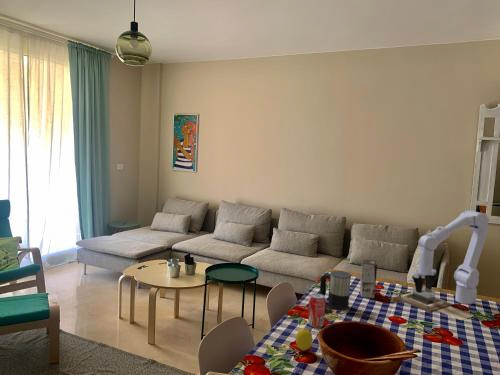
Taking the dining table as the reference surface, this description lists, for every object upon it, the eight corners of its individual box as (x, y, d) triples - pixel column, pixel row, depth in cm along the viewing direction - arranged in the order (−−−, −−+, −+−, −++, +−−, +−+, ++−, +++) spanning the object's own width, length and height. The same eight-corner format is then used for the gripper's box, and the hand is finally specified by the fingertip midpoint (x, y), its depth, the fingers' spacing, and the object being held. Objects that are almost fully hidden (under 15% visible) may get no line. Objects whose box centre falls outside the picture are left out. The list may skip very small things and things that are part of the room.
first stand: (449, 309, 179) (450, 306, 179) (474, 318, 170) (475, 315, 170) (436, 314, 173) (436, 310, 173) (461, 323, 164) (461, 320, 164)
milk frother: (350, 304, 179) (352, 272, 178) (346, 317, 164) (349, 282, 163) (318, 299, 184) (320, 267, 183) (312, 311, 169) (314, 277, 168)
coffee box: (375, 298, 188) (377, 265, 187) (360, 296, 190) (363, 263, 188) (373, 292, 197) (375, 260, 196) (359, 290, 199) (362, 259, 197)
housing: (418, 296, 188) (419, 285, 187) (434, 302, 181) (435, 291, 181) (412, 298, 185) (413, 287, 184) (428, 304, 178) (429, 292, 178)
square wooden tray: (416, 295, 196) (416, 289, 196) (451, 308, 181) (452, 301, 181) (393, 301, 186) (393, 295, 186) (429, 315, 171) (429, 308, 171)
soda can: (314, 329, 151) (316, 299, 150) (304, 323, 157) (306, 293, 156) (327, 327, 154) (329, 297, 153) (317, 320, 160) (319, 291, 159)
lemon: (293, 346, 137) (295, 324, 137) (309, 346, 138) (310, 324, 137) (296, 354, 132) (298, 331, 131) (313, 354, 132) (314, 331, 132)
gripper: (424, 266, 174) (422, 296, 175) (443, 262, 182) (440, 291, 184) (410, 262, 180) (408, 291, 181) (429, 258, 188) (426, 286, 189)
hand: (423, 290), depth 183 cm, fingers open, 7 cm apart
